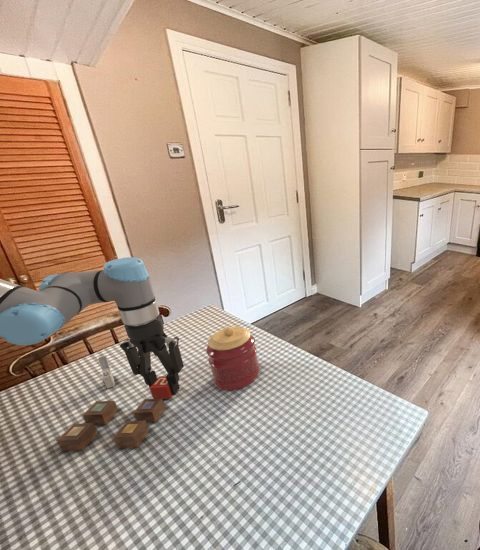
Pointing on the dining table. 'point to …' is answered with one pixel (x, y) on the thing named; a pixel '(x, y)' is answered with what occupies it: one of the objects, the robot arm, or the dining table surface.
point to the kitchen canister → (233, 358)
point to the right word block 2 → (149, 410)
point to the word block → (77, 437)
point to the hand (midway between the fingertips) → (166, 392)
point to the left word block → (100, 412)
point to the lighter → (106, 372)
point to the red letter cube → (161, 388)
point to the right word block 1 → (131, 434)
